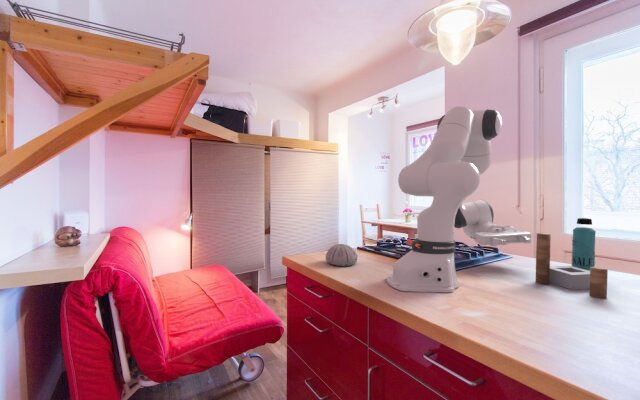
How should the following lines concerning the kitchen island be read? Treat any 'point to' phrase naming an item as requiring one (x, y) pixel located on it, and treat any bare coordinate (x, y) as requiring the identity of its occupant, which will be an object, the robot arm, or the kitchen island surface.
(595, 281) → the short dowel
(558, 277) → the socket block
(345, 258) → the sea urchin shell
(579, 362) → the kitchen island surface
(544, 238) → the long dowel
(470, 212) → the robot arm
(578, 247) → the beverage bottle
